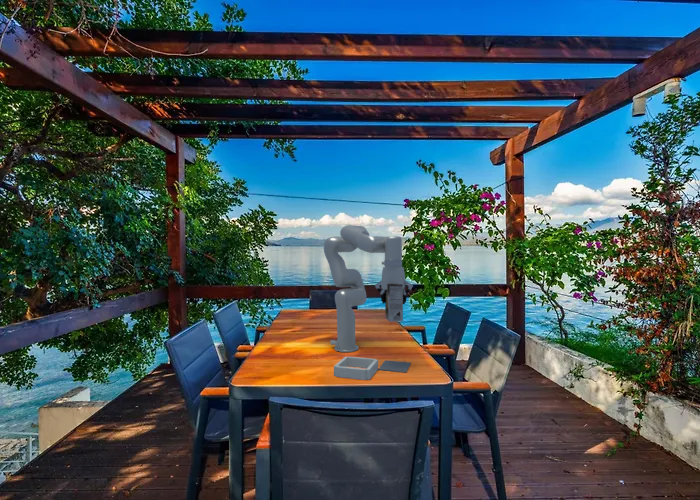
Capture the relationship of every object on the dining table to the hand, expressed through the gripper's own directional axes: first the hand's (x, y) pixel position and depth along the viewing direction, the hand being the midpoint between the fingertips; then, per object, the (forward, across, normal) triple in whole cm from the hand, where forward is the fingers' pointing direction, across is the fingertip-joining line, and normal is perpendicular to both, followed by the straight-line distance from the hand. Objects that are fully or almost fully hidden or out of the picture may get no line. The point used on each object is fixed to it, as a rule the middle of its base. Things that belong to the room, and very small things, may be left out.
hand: (393, 303), depth 155 cm
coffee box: (+7, 0, 0) cm, 7 cm away
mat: (+28, 0, 0) cm, 28 cm away
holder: (+28, -14, -12) cm, 33 cm away
